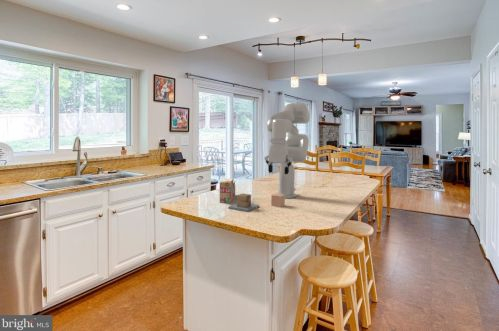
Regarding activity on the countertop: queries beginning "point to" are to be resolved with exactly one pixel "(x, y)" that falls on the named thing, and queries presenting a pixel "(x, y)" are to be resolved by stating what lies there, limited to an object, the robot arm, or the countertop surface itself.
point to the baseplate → (243, 207)
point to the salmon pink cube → (278, 200)
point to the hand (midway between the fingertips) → (278, 173)
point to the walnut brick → (244, 200)
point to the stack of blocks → (227, 190)
